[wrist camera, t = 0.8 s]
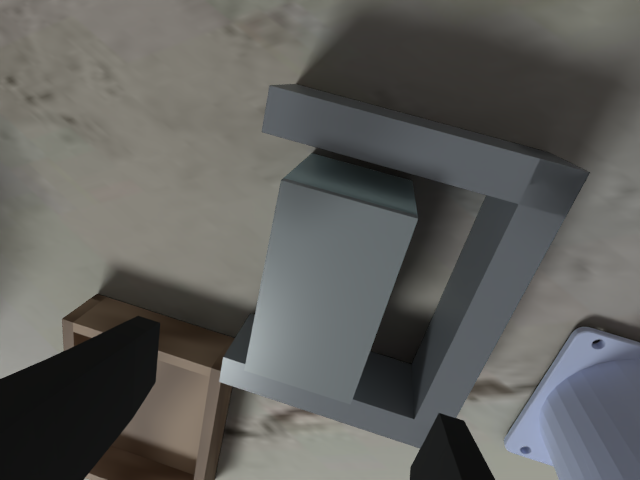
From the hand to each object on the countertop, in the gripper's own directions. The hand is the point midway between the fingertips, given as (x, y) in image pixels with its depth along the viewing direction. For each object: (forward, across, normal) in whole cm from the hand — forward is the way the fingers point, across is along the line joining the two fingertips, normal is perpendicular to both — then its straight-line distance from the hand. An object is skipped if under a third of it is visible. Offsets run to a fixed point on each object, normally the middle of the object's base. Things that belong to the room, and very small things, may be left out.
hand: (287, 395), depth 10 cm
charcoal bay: (+9, -2, 0) cm, 9 cm away
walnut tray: (+9, +8, +13) cm, 18 cm away
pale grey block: (+9, 0, 0) cm, 9 cm away
